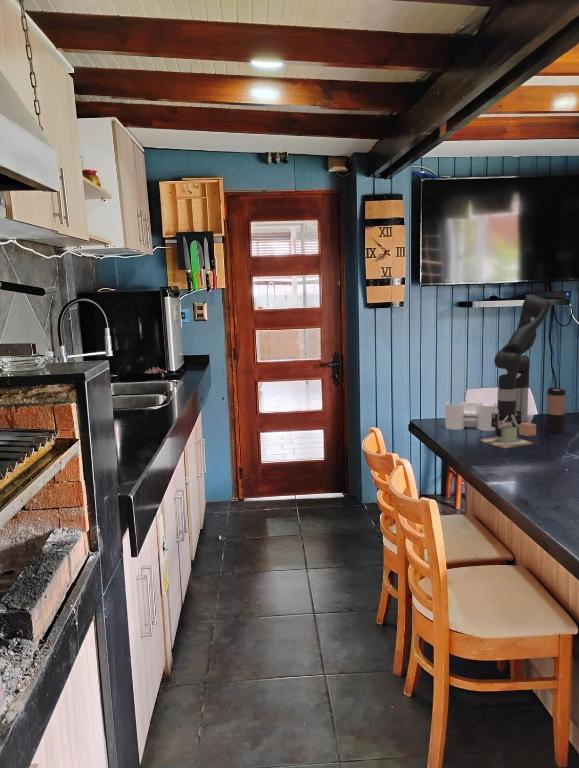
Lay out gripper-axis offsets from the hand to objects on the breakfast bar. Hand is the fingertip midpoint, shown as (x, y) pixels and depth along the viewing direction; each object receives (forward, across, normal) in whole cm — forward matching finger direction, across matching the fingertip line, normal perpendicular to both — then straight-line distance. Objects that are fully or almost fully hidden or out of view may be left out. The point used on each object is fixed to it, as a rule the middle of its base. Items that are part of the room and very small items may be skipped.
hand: (506, 435), depth 246 cm
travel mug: (+3, -33, -5) cm, 34 cm away
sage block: (+2, 0, 0) cm, 2 cm away
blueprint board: (+3, 0, 0) cm, 3 cm away
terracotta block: (+3, -19, -7) cm, 20 cm away
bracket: (+3, -6, -30) cm, 30 cm away
